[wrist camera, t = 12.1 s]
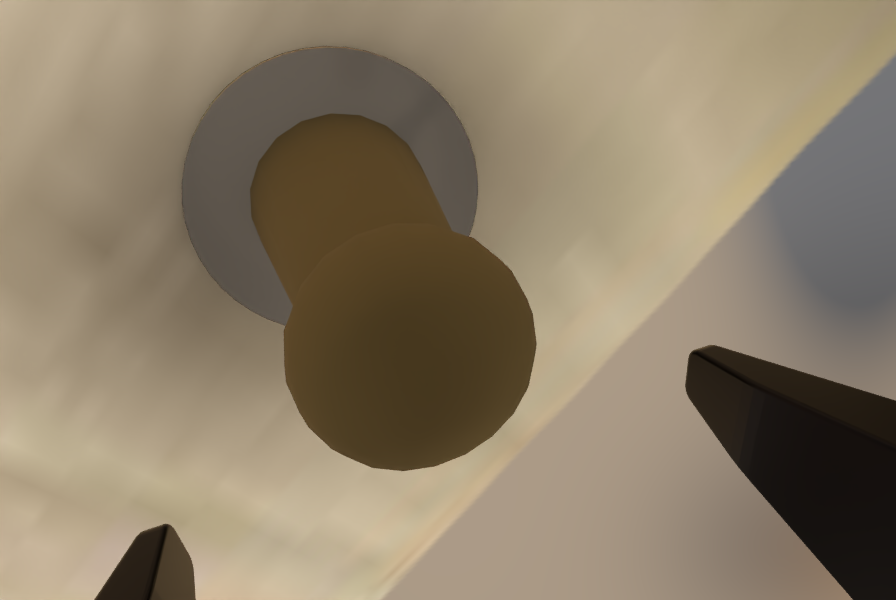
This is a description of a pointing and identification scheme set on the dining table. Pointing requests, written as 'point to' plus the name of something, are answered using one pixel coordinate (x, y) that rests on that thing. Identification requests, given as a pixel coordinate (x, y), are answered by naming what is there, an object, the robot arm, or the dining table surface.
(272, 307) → the coaster empty
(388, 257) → the brown rounded piece
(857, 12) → the dining table surface
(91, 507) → the dining table surface
